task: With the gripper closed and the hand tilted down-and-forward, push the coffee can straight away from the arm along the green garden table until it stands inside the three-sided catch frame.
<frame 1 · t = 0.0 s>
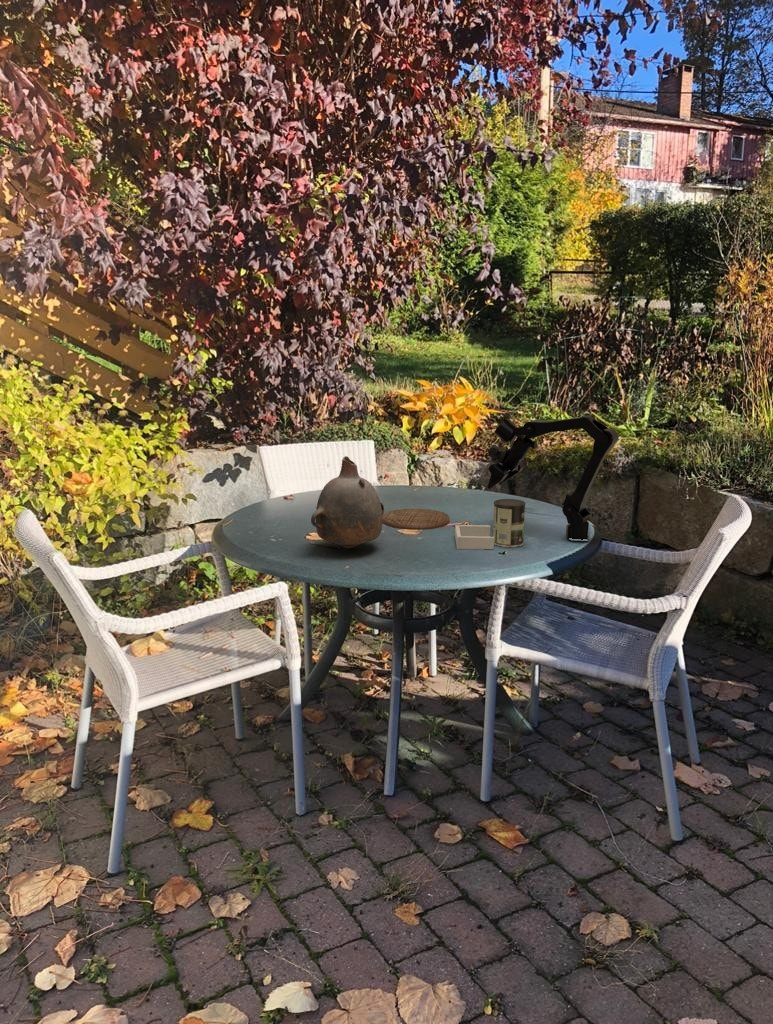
hand: (493, 486, 281), 15 cm above the table, tool tilted 35°, fingers open, 9 cm apart
coffee can: (507, 544, 264), on the table
jug: (349, 549, 257), on the table
catch frame: (477, 542, 264), on the table
trivet: (415, 522, 292), on the table
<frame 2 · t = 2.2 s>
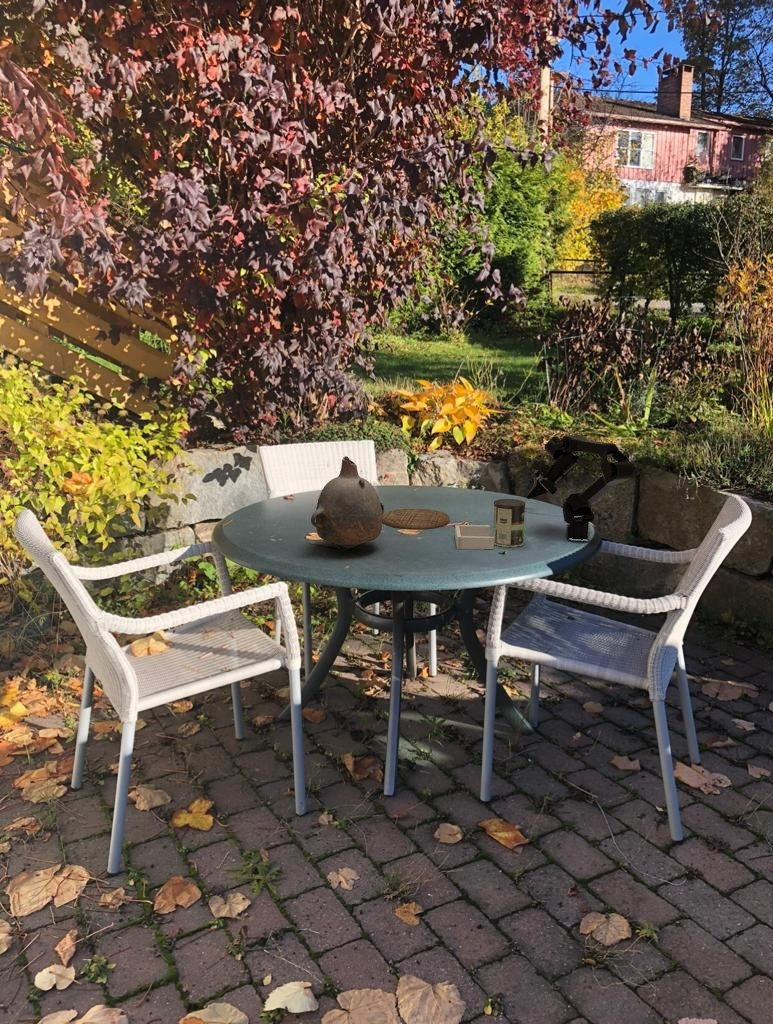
hand: (526, 498, 274), 12 cm above the table, tool tilted 45°, fingers closed
nothing on the table moved.
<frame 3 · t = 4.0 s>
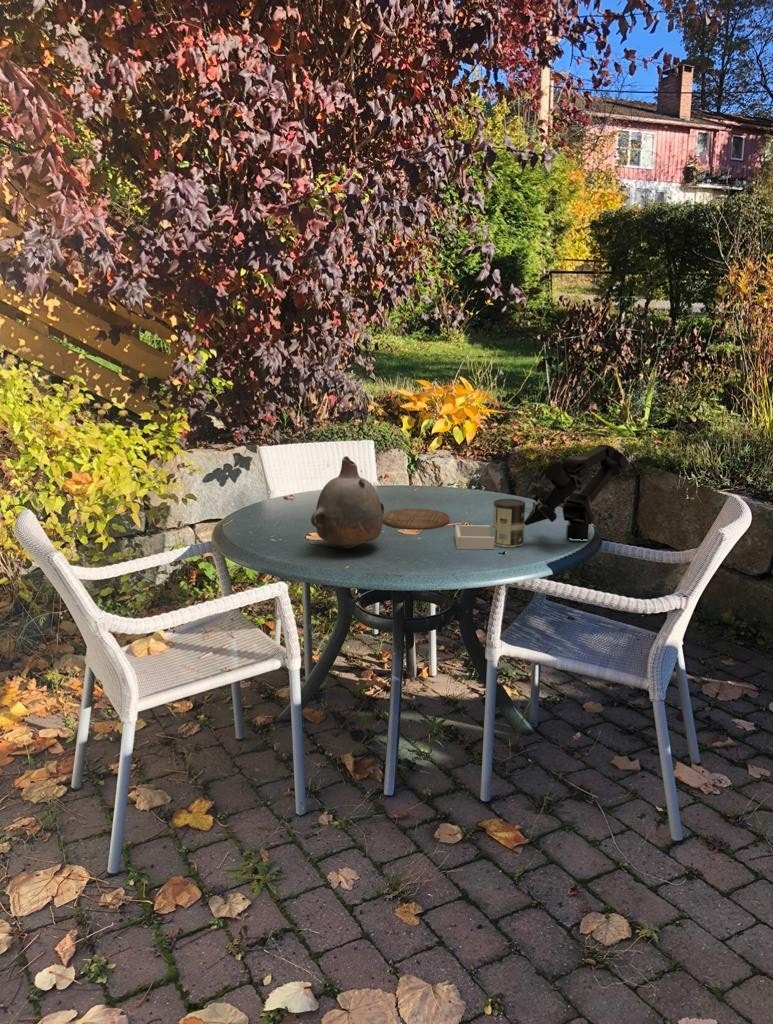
hand: (524, 524, 262), 7 cm above the table, tool tilted 45°, fingers closed
coffee can: (507, 543, 264), on the table, touching gripper
everything else where it was.
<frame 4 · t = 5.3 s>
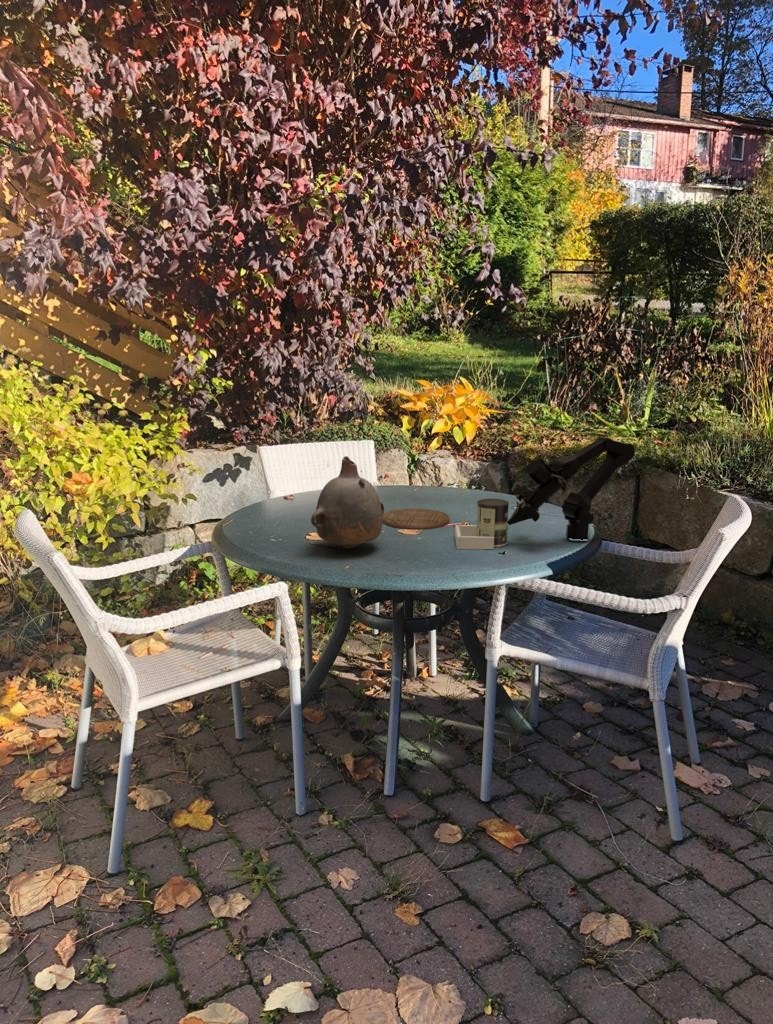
hand: (508, 523, 262), 7 cm above the table, tool tilted 45°, fingers closed, pressing on coffee can
coffee can: (491, 543, 264), on the table, touching gripper
everything else where it was.
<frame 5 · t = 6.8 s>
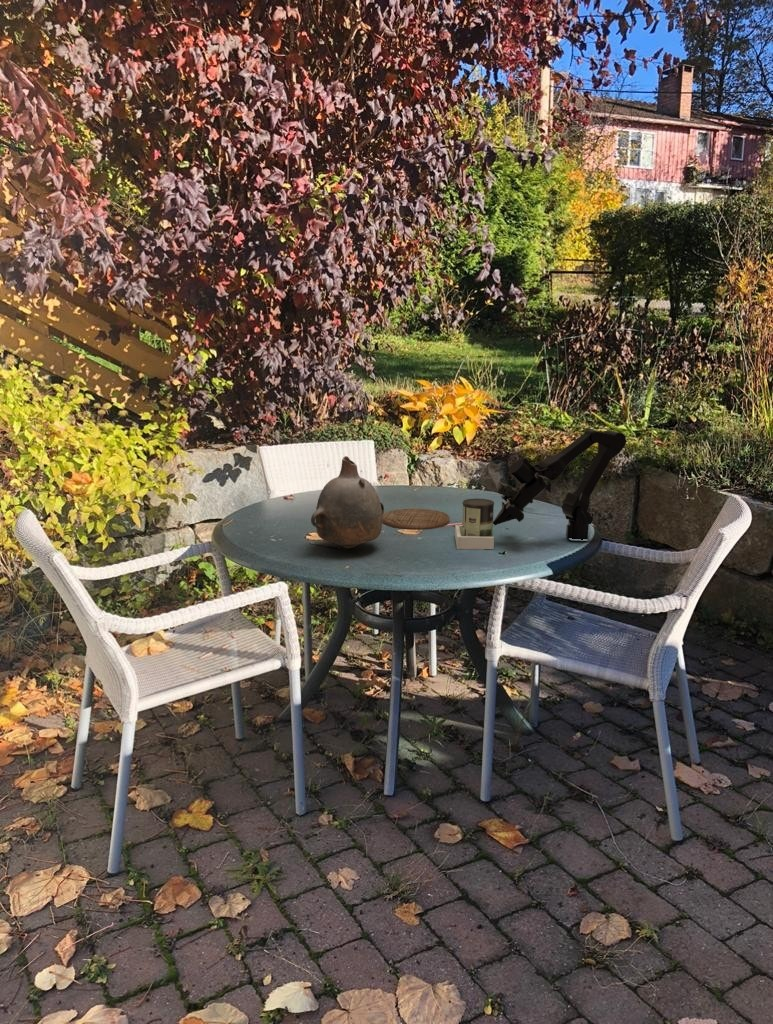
hand: (493, 524, 262), 7 cm above the table, tool tilted 45°, fingers closed, pressing on coffee can
coffee can: (477, 543, 264), on the table, touching gripper
everything else where it was.
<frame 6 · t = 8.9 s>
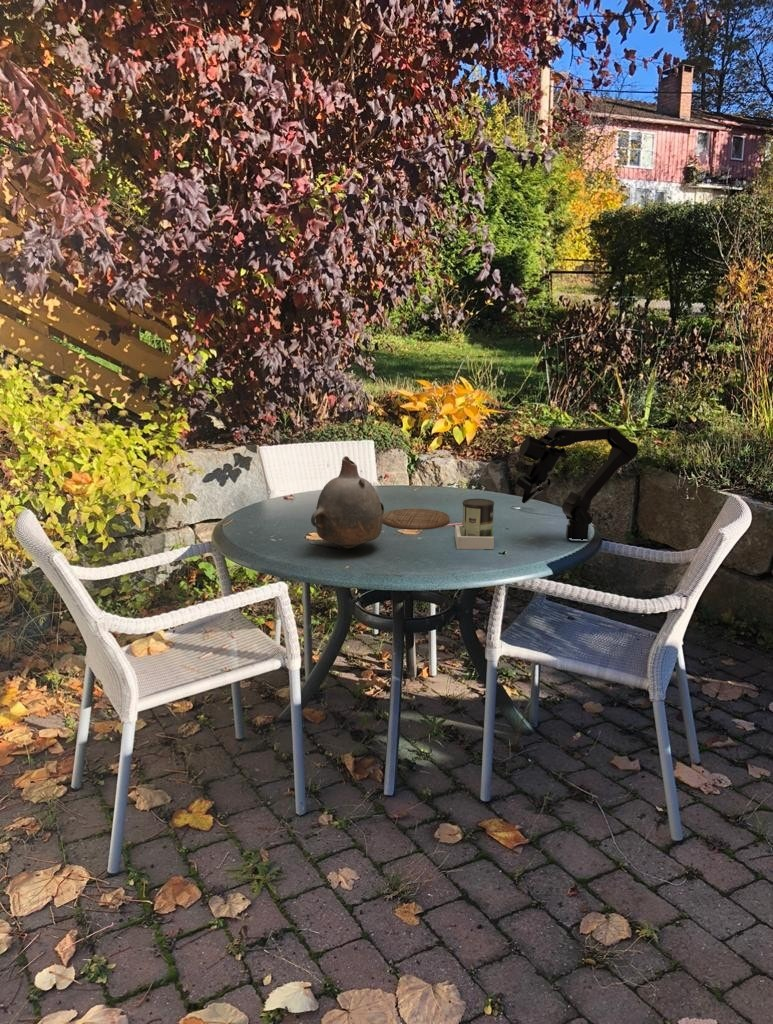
hand: (523, 502, 267), 12 cm above the table, tool tilted 30°, fingers closed
coffee can: (477, 543, 264), on the table
everything else where it was.
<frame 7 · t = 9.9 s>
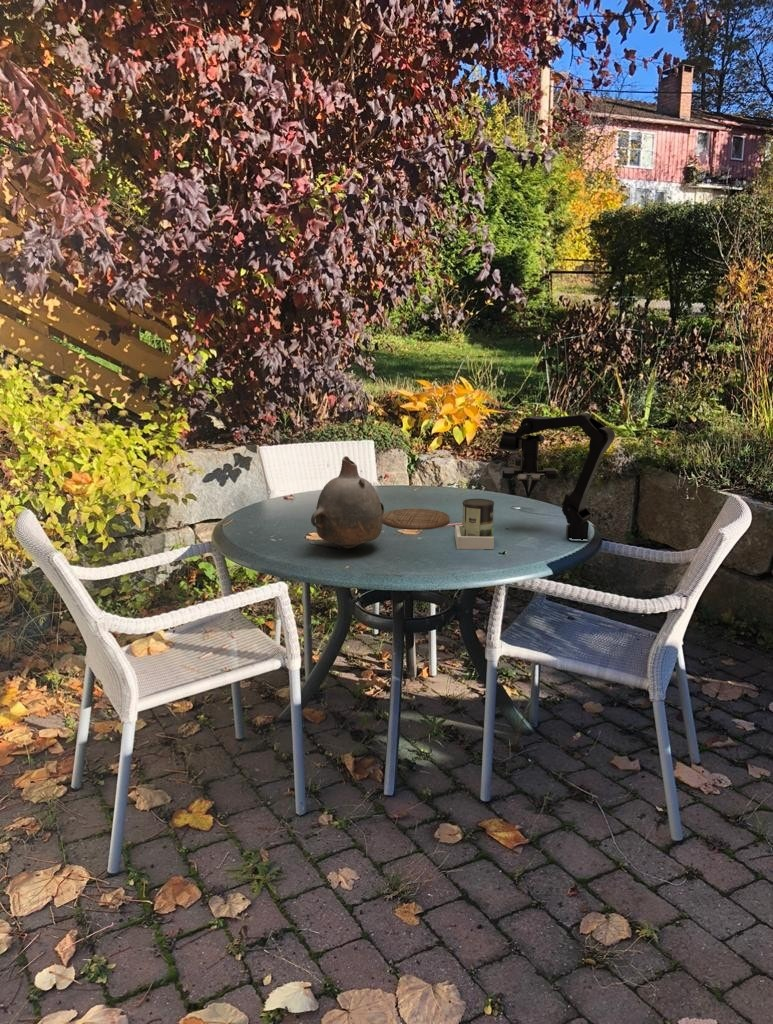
hand: (527, 497, 276), 12 cm above the table, tool pointing down, fingers closed
nothing on the table moved.
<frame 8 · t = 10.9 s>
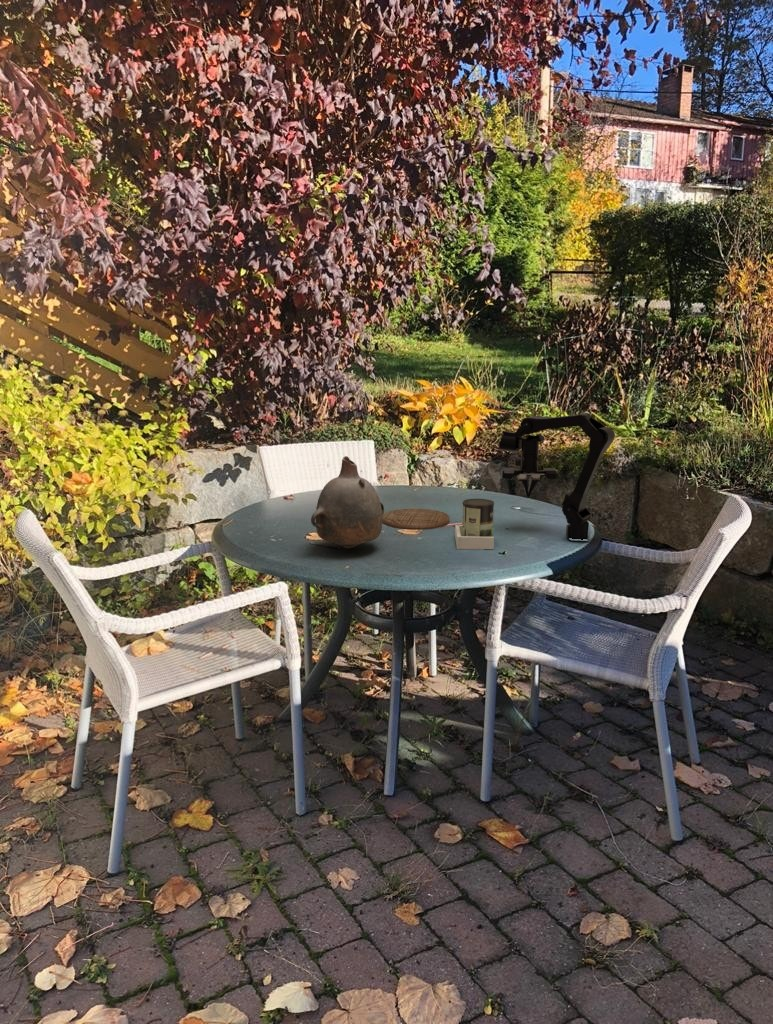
hand: (527, 497, 276), 12 cm above the table, tool pointing down, fingers closed
nothing on the table moved.
at the end: coffee can inside the target area on the catch frame (0.6 cm from its centre), point 0.0 cm above the catch frame's base; coffee can tilted 0°; coffee can moved 10.2 cm from its start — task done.
